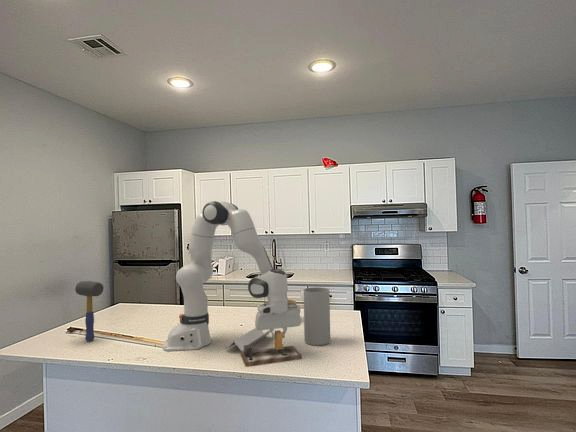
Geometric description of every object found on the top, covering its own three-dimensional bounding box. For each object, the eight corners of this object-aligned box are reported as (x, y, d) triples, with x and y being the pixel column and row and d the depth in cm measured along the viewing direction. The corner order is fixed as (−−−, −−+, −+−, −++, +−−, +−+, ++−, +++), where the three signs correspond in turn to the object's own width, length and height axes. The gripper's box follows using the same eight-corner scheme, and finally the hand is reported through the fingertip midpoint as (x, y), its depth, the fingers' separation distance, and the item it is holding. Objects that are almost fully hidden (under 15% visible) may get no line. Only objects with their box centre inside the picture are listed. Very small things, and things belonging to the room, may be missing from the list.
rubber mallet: (74, 342, 171) (73, 281, 172) (87, 337, 178) (87, 279, 179) (92, 345, 167) (91, 283, 167) (105, 340, 174) (104, 280, 174)
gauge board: (245, 366, 139) (245, 354, 139) (240, 355, 150) (240, 344, 150) (301, 358, 146) (301, 346, 146) (293, 348, 157) (292, 337, 157)
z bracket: (233, 360, 153) (225, 349, 155) (258, 343, 176) (250, 334, 178) (251, 342, 150) (242, 331, 152) (273, 328, 174) (265, 318, 175)
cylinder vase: (303, 345, 161) (302, 292, 161) (305, 336, 173) (305, 287, 174) (329, 346, 159) (328, 292, 159) (330, 337, 171) (329, 287, 172)
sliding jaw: (279, 355, 144) (279, 337, 144) (274, 348, 153) (273, 330, 153) (286, 354, 145) (286, 336, 145) (280, 347, 154) (280, 330, 154)
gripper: (298, 302, 158) (298, 333, 157) (254, 306, 152) (254, 338, 151) (302, 306, 152) (303, 337, 151) (257, 310, 146) (257, 343, 145)
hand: (278, 337), depth 151 cm, fingers closed on sliding jaw, 2 cm apart
